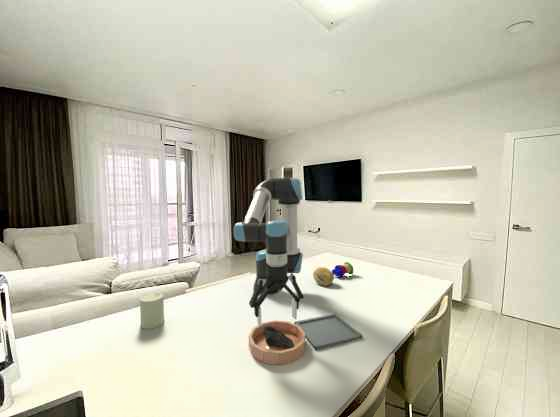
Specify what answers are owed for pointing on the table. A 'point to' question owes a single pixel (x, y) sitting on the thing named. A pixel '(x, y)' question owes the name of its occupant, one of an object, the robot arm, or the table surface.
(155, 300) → the can
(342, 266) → the toy figure
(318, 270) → the stone
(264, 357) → the bowl
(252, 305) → the robot arm
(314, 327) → the tray
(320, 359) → the table surface
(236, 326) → the table surface
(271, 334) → the stone
